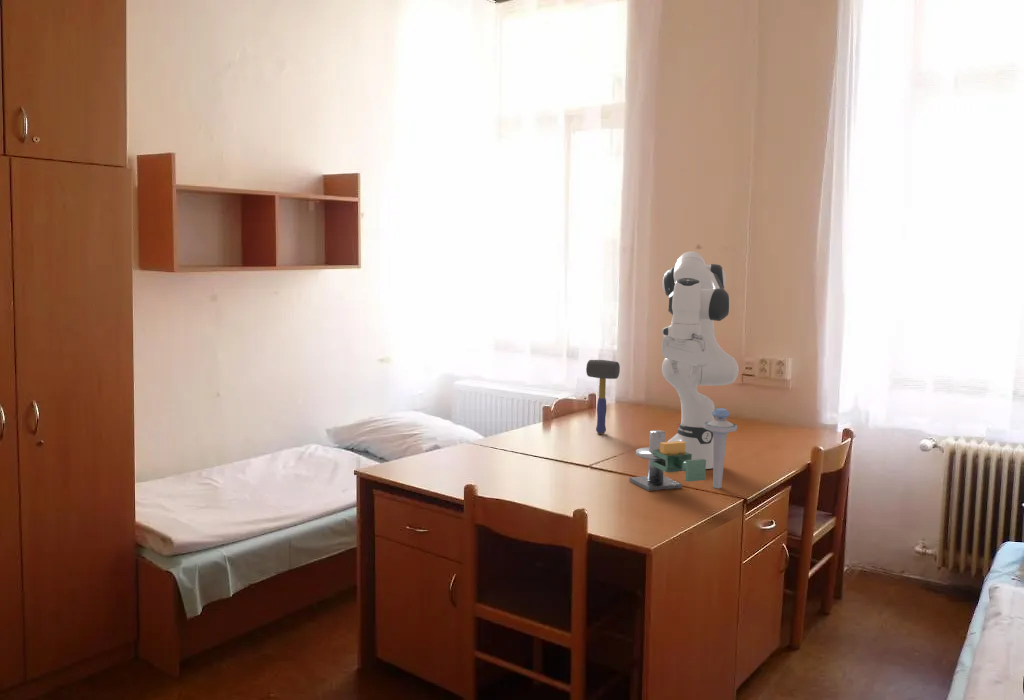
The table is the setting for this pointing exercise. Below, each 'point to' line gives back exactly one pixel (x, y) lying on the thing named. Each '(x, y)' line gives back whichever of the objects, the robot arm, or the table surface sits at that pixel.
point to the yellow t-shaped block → (672, 449)
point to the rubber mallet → (602, 386)
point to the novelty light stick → (719, 441)
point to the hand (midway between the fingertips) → (683, 377)
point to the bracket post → (666, 465)
